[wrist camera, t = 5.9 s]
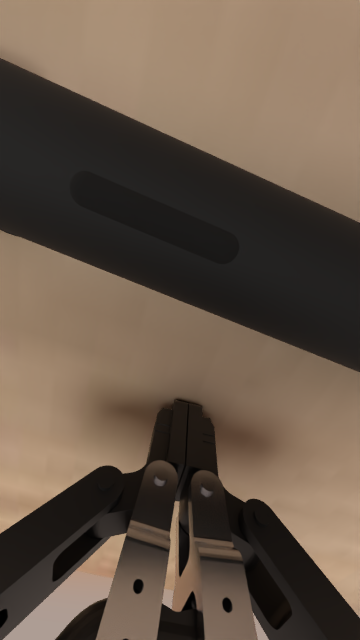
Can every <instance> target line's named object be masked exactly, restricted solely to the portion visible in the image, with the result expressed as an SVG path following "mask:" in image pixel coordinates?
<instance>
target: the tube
mask: <svg viewBox="0 0 360 640" xmlns="http://www.w3.org/2000/svg"><path fill="white" fill-rule="evenodd" d="M0 229H1V230H2V231H4V232H6V233H9V234H12V235H15V236H19V237H22V238H25V239H27V240H30V241H32V242H35V243H37V244H40V245H42V246H45V247H47V248H50V249H52V250H55V251H57V252H60V253H62V254H65V255H67V256H70V257H72V258H75V259H77V260H80V261H82V262H85V263H87V264H90V265H92V266H95V267H97V268H100V269H102V270H105V271H107V272H110V273H112V274H115V275H117V276H120V277H122V278H125V279H127V280H130V281H132V282H135V283H137V284H140V285H142V286H145V287H147V288H150V289H152V290H155V291H157V292H160V293H163V294H165V295H168V296H170V297H173V298H175V299H178V300H180V301H183V302H185V303H188V304H190V305H193V306H195V307H198V308H200V309H203V310H205V311H208V312H210V313H213V314H215V315H218V316H220V317H223V318H225V319H228V320H230V321H233V322H235V323H238V324H240V325H243V326H245V327H248V328H250V329H253V330H255V331H258V332H260V333H263V334H265V335H268V336H270V337H273V338H275V339H278V340H280V341H283V342H285V343H288V344H290V345H293V346H295V347H298V348H300V349H303V350H306V351H308V352H311V353H313V354H316V355H318V356H321V357H323V358H326V359H328V360H331V361H333V362H336V363H338V364H341V365H343V366H346V367H348V368H351V369H353V370H356V371H358V372H360V223H359V222H357V221H355V220H353V219H350V218H348V217H346V216H344V215H342V214H339V213H337V212H335V211H333V210H331V209H328V208H326V207H324V206H322V205H320V204H318V203H315V202H313V201H311V200H309V199H307V198H304V197H302V196H300V195H298V194H296V193H294V192H291V191H289V190H287V189H285V188H283V187H280V186H278V185H276V184H274V183H272V182H270V181H267V180H265V179H263V178H261V177H259V176H256V175H254V174H252V173H250V172H248V171H245V170H243V169H241V168H239V167H237V166H235V165H232V164H230V163H228V162H226V161H224V160H221V159H219V158H217V157H215V156H213V155H211V154H208V153H206V152H204V151H202V150H200V149H197V148H195V147H193V146H191V145H189V144H186V143H184V142H182V141H180V140H178V139H176V138H173V137H171V136H169V135H167V134H165V133H162V132H160V131H158V130H156V129H154V128H152V127H149V126H147V125H145V124H143V123H141V122H138V121H136V120H134V119H132V118H130V117H127V116H125V115H123V114H121V113H119V112H117V111H114V110H112V109H110V108H108V107H106V106H103V105H101V104H99V103H97V102H95V101H93V100H90V99H88V98H86V97H84V96H82V95H79V94H77V93H75V92H73V91H71V90H69V89H66V88H64V87H62V86H60V85H58V84H55V83H53V82H51V81H49V80H47V79H44V78H42V77H40V76H38V75H36V74H34V73H31V72H29V71H27V70H25V69H23V68H20V67H18V66H16V65H14V64H12V63H10V62H7V61H5V60H3V59H1V58H0Z"/></svg>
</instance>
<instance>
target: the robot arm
mask: <svg viewBox="0 0 360 640" xmlns="http://www.w3.org/2000/svg"><path fill="white" fill-rule="evenodd" d="M175 501H180V505H179V513H178V516H177V519H176V576H175V587H174V593H173V601H172V609H170V608H168V607H167V606H165V605H163V604H162V599H163V592H164V586H165V579H166V572H167V565H168V558H169V551H170V528H171V522H172V515H173V509H174V502H175ZM124 533H127V534H126V537H125V541H124V544H123V548H122V551H121V555H120V558H119V561H118V565H117V568H116V572H115V575H114V579H113V582H112V585H111V589H110V592H109V596H108V598H105V599H103V600H100V601H97V602H96V603H94V604H92V605H90V606H89V607H87V608H86V609H84V610H83V611H82V612H81V613H79V614H78V615H77V616H76V617H75V618H74V619H73V620H72V621H71V622H70V623H69V624H68V625H67V627H66V628H65V629H64V630H63V631H62V632H61V633H60V635H59V636H58V637H57V638H56V639H55V640H258V639H257V634H256V629H255V623H254V618H253V613H254V615H255V616H256V618H257V620H258V621H259V623H260V625H261V627H262V628H263V630H264V632H265V633H266V635H267V637H268V639H269V640H360V618H359V617H358V615H357V614H356V613H355V612H354V610H353V609H352V608H351V607H350V606H349V604H348V603H347V602H346V601H345V599H344V598H343V597H342V596H341V594H340V593H339V592H338V591H337V590H336V588H335V587H334V586H333V585H332V583H331V582H330V581H329V580H328V578H327V577H326V576H325V575H324V574H323V572H322V571H321V570H320V569H319V567H318V566H317V565H316V564H315V562H314V561H313V560H312V559H311V558H310V556H309V555H308V554H307V553H306V551H305V550H304V549H303V548H302V546H301V545H300V544H299V543H298V542H297V540H296V539H295V538H294V537H293V535H292V534H291V533H290V532H289V530H288V529H287V528H286V527H285V526H284V524H283V523H282V522H281V521H280V519H279V518H278V517H277V516H276V514H275V513H274V512H273V511H272V510H271V508H270V507H269V506H268V505H267V504H265V503H264V502H262V501H260V500H258V499H249V500H248V501H246V502H243V501H242V500H240V499H238V498H236V497H235V496H233V495H232V494H230V493H229V492H228V491H227V490H226V489H225V488H224V487H223V485H222V482H221V481H220V479H219V477H218V469H217V456H216V445H215V431H214V426H213V424H212V422H211V420H210V418H206V417H202V406H199V405H195V404H191V403H186V402H182V401H178V400H174V403H173V406H172V410H171V409H167V408H162V409H161V411H160V412H159V413H158V415H157V419H156V422H155V426H154V430H153V434H152V438H151V443H150V448H149V453H148V458H147V462H146V465H145V466H144V467H143V468H142V469H140V470H138V471H136V472H133V473H125V474H122V472H121V471H120V470H119V469H117V468H116V467H113V466H102V467H99V468H97V469H96V470H94V471H93V472H91V473H90V474H88V475H87V476H85V477H84V478H82V479H81V480H79V481H78V482H76V483H75V484H73V485H72V486H70V487H69V488H67V489H66V490H64V491H63V492H61V493H60V494H58V495H57V496H56V497H54V498H53V499H51V500H50V501H48V502H47V503H45V504H44V505H42V506H41V507H39V508H38V509H36V510H35V511H33V512H32V513H30V514H29V515H27V516H26V517H24V518H23V519H21V520H20V521H18V522H17V523H15V524H14V525H13V526H11V527H10V528H8V529H7V530H5V531H4V532H2V533H1V534H0V640H2V639H4V638H5V636H7V635H8V634H9V633H10V632H11V631H12V630H13V629H14V628H15V627H16V626H17V625H18V624H19V623H20V622H21V621H23V620H24V619H25V618H26V617H27V616H28V615H29V614H30V613H31V612H32V611H33V610H34V609H35V608H36V607H37V606H38V605H39V604H40V603H41V602H43V600H44V599H46V598H47V597H48V596H49V595H50V594H51V593H52V592H53V591H54V590H55V589H56V588H57V587H58V586H59V585H61V584H62V582H64V581H65V580H66V579H67V578H68V577H69V576H70V575H71V574H72V573H73V572H74V571H75V570H76V569H77V568H78V567H80V566H81V565H82V564H83V563H84V562H85V561H86V560H87V559H88V558H89V557H90V556H91V555H92V554H93V553H94V552H95V551H96V550H97V549H99V548H100V547H101V546H102V545H103V544H104V543H105V542H106V541H107V540H108V539H109V538H110V537H111V536H114V535H119V534H124ZM252 611H253V612H252Z"/></svg>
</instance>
